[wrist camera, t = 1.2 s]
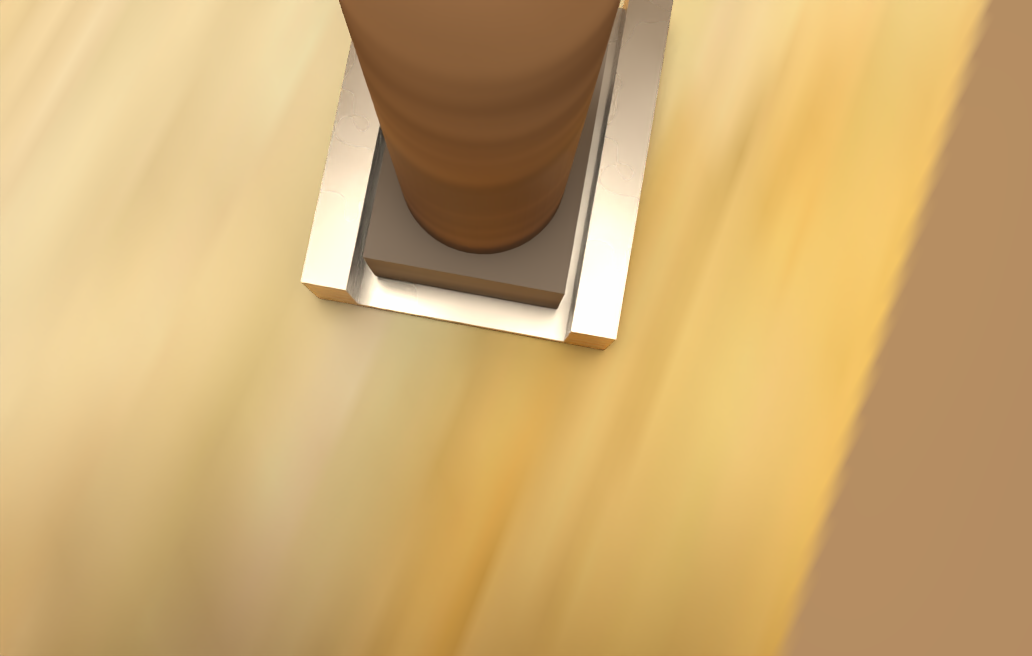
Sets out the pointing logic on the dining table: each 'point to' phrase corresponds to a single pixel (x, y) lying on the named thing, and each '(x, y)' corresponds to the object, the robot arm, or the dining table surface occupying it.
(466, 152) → the slider
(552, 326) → the track
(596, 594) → the dining table surface
